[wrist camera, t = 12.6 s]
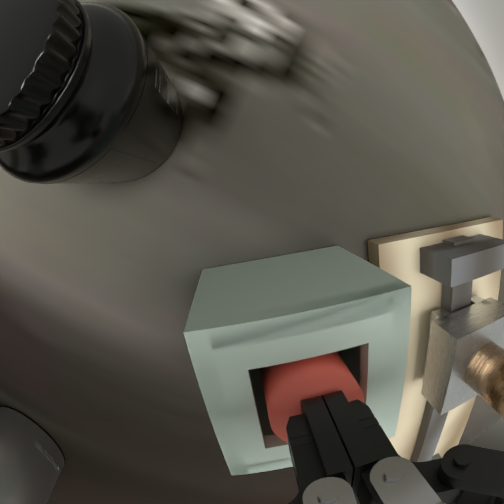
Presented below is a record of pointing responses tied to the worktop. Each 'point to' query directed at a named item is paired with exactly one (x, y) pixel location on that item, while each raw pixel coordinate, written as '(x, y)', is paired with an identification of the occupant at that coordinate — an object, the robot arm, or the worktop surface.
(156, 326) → the worktop surface
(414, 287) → the rail track
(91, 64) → the supplement bottle
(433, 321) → the carriage
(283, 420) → the button
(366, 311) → the button box
